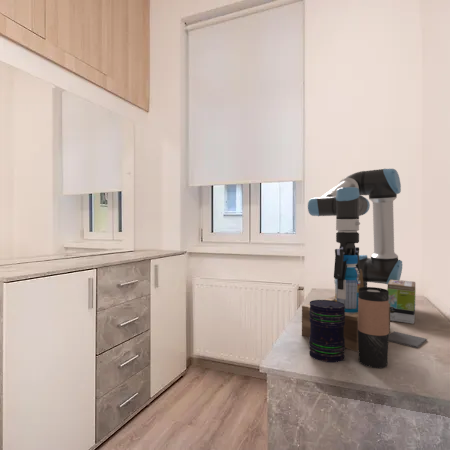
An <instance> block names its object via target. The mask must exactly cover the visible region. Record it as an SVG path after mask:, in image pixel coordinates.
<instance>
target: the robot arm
mask: <svg viewBox="0 0 450 450" xmlns="http://www.w3.org/2000/svg"><path fill="white" fill-rule="evenodd" d="M401 191H402V185H401V179H400V175H399V173H398V171H397V170H396V169H394V168H383V169H382V168H380V169H373V170H362V171H358V172H355V173H352V174H350V175H347V176H346V177H344V178H342V179H341V180H340V181H339V182H338V185H336V186H334V187H333V188H331V189H330V190H329V191H327V192H326V193H324V194H323V195H322V196H320V197H319V196H317V197H311V198H310V199H309V200H308V202H307V212H308V214H309V215H310V216H312V217H332V216H333V217H336V218H335V220H336V221H335V222H336V223H335V225H336V226H335V230H336V231H337V232H336V234H335V241H336V243H338V244H339V248H335V249H334V269H333V278H334V280H335V279H337V298H340V299H346V280H344V279H345V274H346V269H347V264H346V261H347V260H348V259H347V260H346V261H343V260H344V255H357V257H358V263H357V265H356V267H357V269H358V270H359V273H360V269H361V270H362V274H363V287H368V283H373V284H374V283H375V284H376V283H377V284H385V285H388V283H389V281H390V280H401V276H402V273H403V272H402V271H403V261H402V260H401V259H399V255H398V254H397V253H396V252H395V234H394V233H395V232H394V231H395V228H394V220H395V219H394V201H395V200H396V199H397V196H398V194H401ZM364 196H368V199H367V198H366V197H364ZM370 201H371V202H372V223H373V225H372V227H373V228H372V229H373V253H371V254H370V258H369V257H368V255H367V254H361V255H360V247H357V246H356V244H358V243H360V233H359V232H358V231H359V230H360V225H361V222H360V217H361V216H363V215H366V214H367V213H368V212H369V210H370V207H371V204H370ZM359 277H360V276H359Z"/></svg>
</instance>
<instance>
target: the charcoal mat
mask: <svg viewBox="0 0 450 450" xmlns="http://www.w3.org/2000/svg"><path fill="white" fill-rule="evenodd" d="M427 340H428V338H425V337H420V336H417V335H412V334H408V333H402V332H398V331H394V330H393V331H392V332H391V333H390V332H389V341H388V342H391V343H395V344H398V345H402V346H408V347H411V348H415V349H418V348H420V346H422V345H423V344H424V343H426V342H427Z"/></svg>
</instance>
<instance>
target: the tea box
mask: <svg viewBox="0 0 450 450" xmlns="http://www.w3.org/2000/svg"><path fill="white" fill-rule="evenodd" d="M386 290H388V292H389V303H390V322H391V321H392V322H398V323H399V322H400V323H406V324H413V325H414V323H415V320H416V319H415V318H416V316H415V315H416V281H410V280H409V281H408V280H401V279H400V280H390V281H389V283H388V284H387V288H386Z"/></svg>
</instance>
